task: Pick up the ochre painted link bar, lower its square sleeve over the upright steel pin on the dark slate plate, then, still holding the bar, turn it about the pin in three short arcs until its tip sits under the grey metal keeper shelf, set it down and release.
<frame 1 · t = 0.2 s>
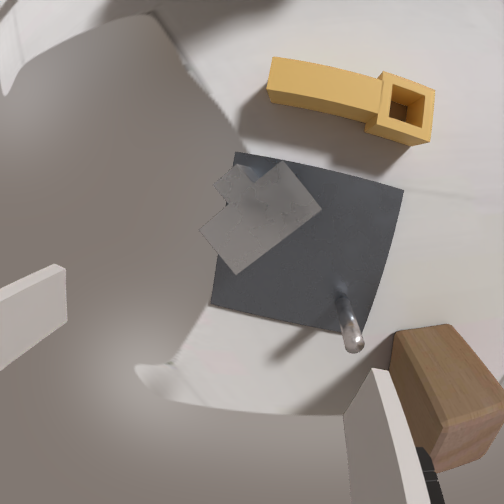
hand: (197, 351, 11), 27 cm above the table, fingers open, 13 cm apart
link: (274, 88, 32), on the table
base: (341, 301, 38), on the table
keeper: (269, 207, 36), resting on base
wooden block: (418, 352, 38), on the table
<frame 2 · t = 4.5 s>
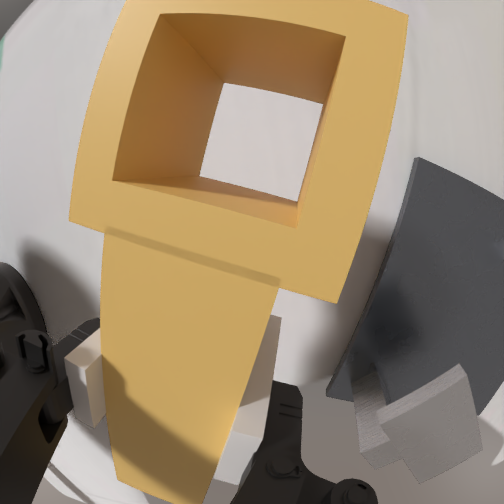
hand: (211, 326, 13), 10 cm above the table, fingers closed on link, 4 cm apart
link: (193, 417, 15), point 10 cm above the table, touching gripper
keeper: (407, 359, 22), resting on base
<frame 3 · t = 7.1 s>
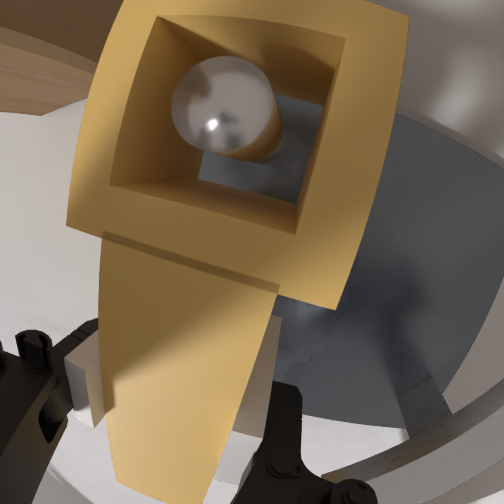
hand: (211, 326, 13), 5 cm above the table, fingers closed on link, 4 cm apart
link: (192, 419, 15), point 5 cm above the table, touching gripper
base: (270, 150, 16), on the table
keeper: (398, 355, 17), resting on base
wooden block: (92, 45, 15), on the table
when the fingers open (2 cm above the table, at t = 10.1 s): link stays where it is, resting on base.
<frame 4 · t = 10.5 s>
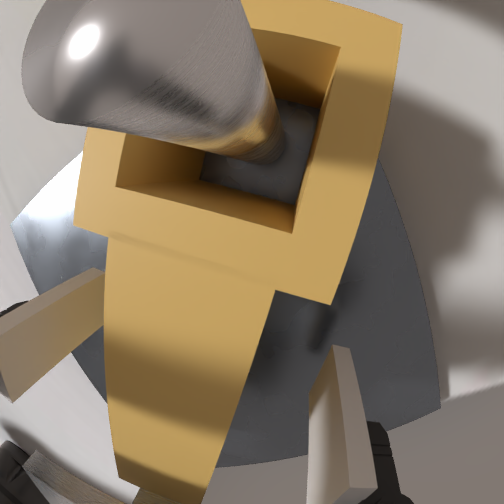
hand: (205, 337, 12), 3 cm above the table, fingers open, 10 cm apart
link: (193, 416, 15), point 1 cm above the table, touching base
base: (263, 142, 12), on the table
keeper: (197, 409, 16), resting on base
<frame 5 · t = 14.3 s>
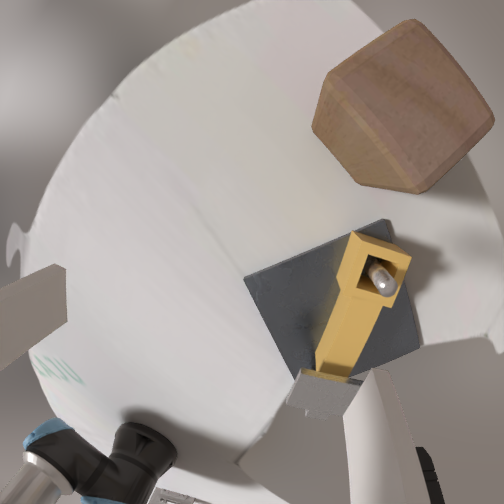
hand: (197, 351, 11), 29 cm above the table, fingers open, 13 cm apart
link: (327, 355, 40), point 1 cm above the table, touching base
base: (365, 258, 37), on the table
keeper: (326, 353, 42), resting on base
cassette: (175, 492, 61), on the table
wooden block: (362, 134, 34), on the table
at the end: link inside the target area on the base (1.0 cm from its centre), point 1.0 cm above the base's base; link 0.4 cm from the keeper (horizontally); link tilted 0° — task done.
